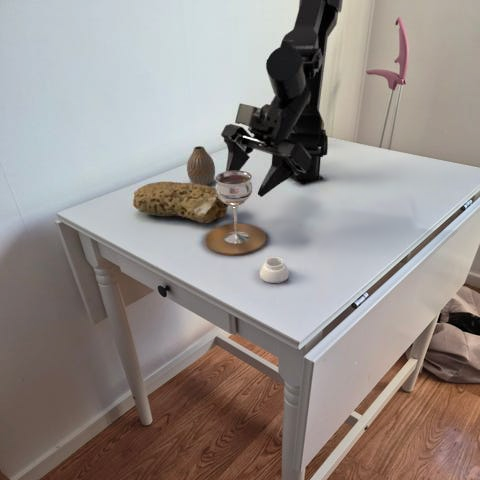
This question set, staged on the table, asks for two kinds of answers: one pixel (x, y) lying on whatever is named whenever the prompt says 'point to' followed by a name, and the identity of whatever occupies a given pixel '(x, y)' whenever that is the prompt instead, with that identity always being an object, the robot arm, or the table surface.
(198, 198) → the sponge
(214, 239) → the coaster
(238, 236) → the wineglass
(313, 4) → the robot arm
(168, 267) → the table surface
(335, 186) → the table surface
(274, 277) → the lidless jar
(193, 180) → the vase
